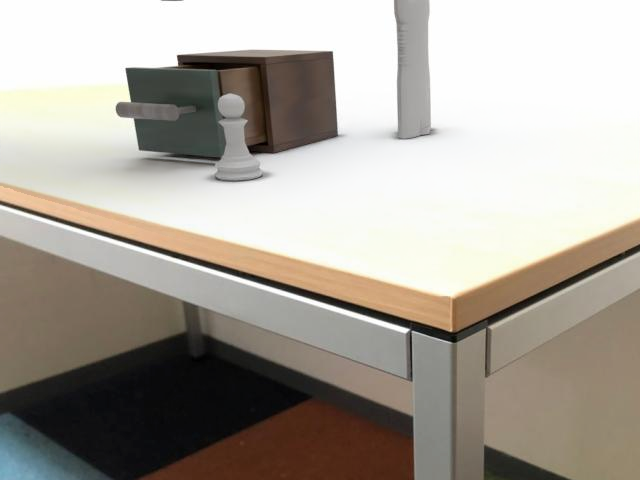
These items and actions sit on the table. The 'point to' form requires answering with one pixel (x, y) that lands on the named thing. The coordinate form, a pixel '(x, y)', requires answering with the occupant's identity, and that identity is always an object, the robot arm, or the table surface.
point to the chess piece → (235, 143)
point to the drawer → (192, 106)
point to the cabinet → (288, 93)
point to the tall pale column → (413, 68)
